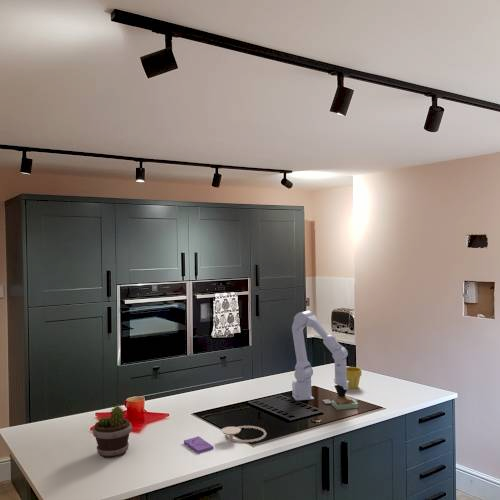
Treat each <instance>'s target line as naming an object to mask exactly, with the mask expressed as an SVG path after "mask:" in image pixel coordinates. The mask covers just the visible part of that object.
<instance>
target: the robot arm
mask: <svg viewBox="0 0 500 500" xmlns="http://www.w3.org/2000/svg"><path fill="white" fill-rule="evenodd" d="M305 327H309V328H312V329H314V331H315V332H316V333H317V334H318V335H319V336H320V338H322V340H323V341H322V342H323V344H324V346H325V347H326V348H327V349H328V351H330V353H331V354H332V355H331V357H332V359H333V360H334V379H333V382H334V384H335V385H334V388H335V390H336V394H337V397H342V396H346V393H347V391H348V390H349V388H348V385H347V383H349V381H347V367H348V365H347V357H348V355H349V351H348V349H347V348H346V347H344V346H343V345H342V344H340V343H339V341H337V338H336V336H334V335H330V334H329V333H328V332H327V331H326V329H325V328H324V326H323V325H322V324H321V322H320V321H319V320H318V318H317V316H316V315H315V314H314V312H313V311H311V310H309V309H308V310H305V311H300V312H297V313H296V314H295V315H294V316H293V322H292V326H291V332H292V339H293V345H294V351H295V357H296V364H295V366H294V378H295V380H294V381H292V383H291V387H292V389H291V390H292V395H291V396H292V397H293V399H294V400H295V401H306V400H307V401H308V400H309V401H310V400H315V397H313V396H312V376H313V374H314V370H313V368H312V366H311V362H310V361H309V360H308V355H307V349H306V343H305V342H306V341H305V336H304V331H303V330H304V329H305Z"/></svg>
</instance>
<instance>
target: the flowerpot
mask: <svg viewBox="0 0 500 500" xmlns="http://www.w3.org/2000/svg"><path fill="white" fill-rule="evenodd" d="M108 413H109V415H106V414H104V415H102V417H100V418H99V419H98V421H97V422H95V424H94V426H93V428H92V436H93V437H94V438H95V440H96V443H97V446H96V451H97V453H98V455H100V457H102V458H103V457H104V459H107V458H108V459H113V458H119V457H121V456H124V455H125V454H126V453H127V451H128V450H129V446H130V443H129V438H130V433H131V432H132V431H133V426H132V423H131V422H130V421H129V419H127V418H126V417H125V414H126V412H125V410H124V408H123V407H122V406H121V405H120V404H119V403H117V404H116V405H114V406H113V408H111V410H110V412H108Z"/></svg>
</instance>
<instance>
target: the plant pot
mask: <svg viewBox="0 0 500 500" xmlns="http://www.w3.org/2000/svg"><path fill="white" fill-rule="evenodd" d="M361 377H362V369H361V368H360V367H356V366H347V381H349V383H347V385H348V389H351V390H352V389H358V388H359V384H360V379H361Z"/></svg>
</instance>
